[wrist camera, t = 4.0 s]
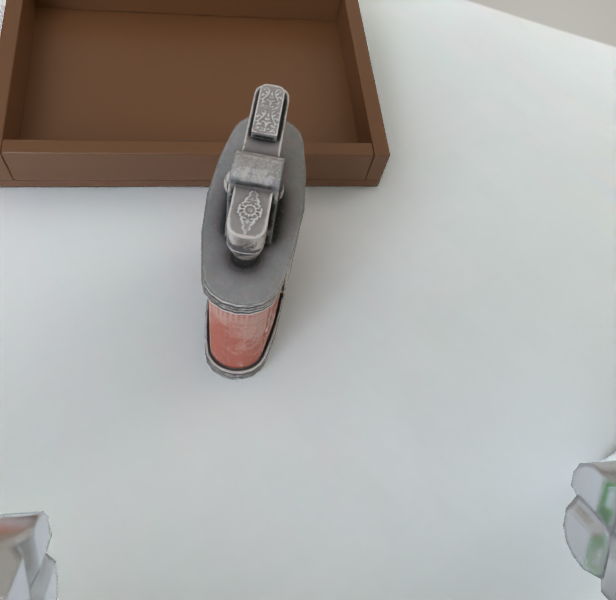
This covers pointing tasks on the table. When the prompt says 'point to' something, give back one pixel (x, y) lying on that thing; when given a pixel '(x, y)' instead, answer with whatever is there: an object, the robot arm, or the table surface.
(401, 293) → the table surface
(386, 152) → the tray
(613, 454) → the milkshake
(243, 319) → the lighter
